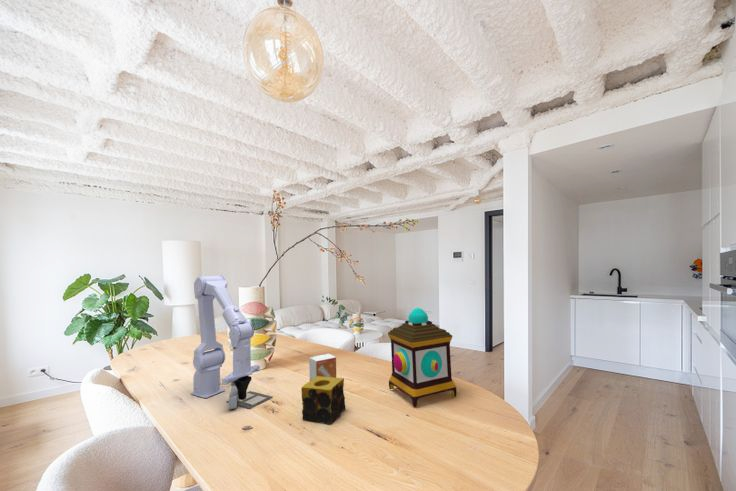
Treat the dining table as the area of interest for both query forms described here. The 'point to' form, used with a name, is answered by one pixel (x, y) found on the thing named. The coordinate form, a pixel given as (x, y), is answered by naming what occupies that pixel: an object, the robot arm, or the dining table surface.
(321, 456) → the dining table surface
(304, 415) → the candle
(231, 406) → the gray rectangular box
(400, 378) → the decorative lantern
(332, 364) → the small box
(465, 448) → the dining table surface
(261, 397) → the label panel
